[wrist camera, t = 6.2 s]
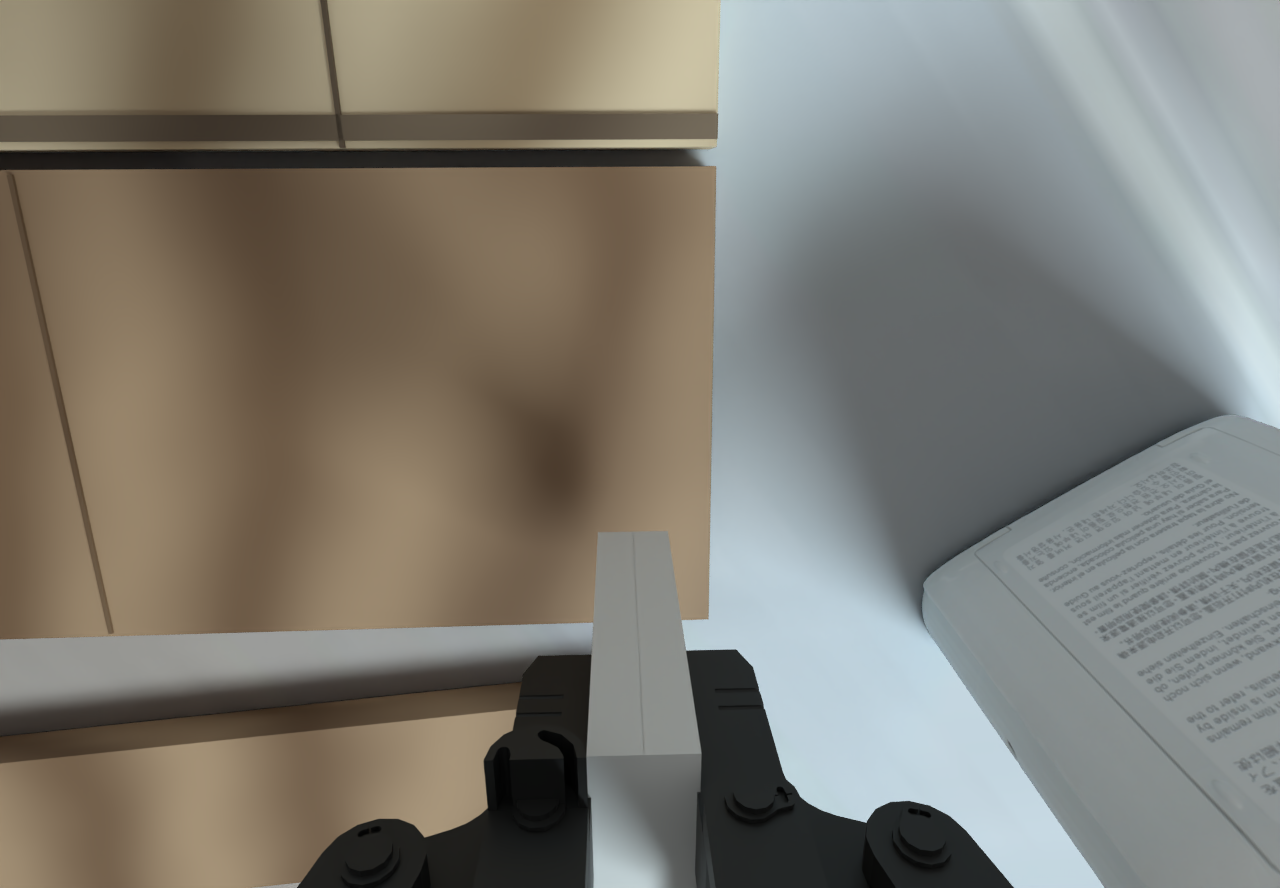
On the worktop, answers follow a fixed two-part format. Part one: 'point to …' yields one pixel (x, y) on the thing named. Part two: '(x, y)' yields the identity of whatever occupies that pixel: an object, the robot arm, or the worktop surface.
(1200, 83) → the worktop surface
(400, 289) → the plank
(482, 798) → the plank
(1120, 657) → the photo printer
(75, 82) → the light wood flat board
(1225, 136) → the worktop surface
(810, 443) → the worktop surface
